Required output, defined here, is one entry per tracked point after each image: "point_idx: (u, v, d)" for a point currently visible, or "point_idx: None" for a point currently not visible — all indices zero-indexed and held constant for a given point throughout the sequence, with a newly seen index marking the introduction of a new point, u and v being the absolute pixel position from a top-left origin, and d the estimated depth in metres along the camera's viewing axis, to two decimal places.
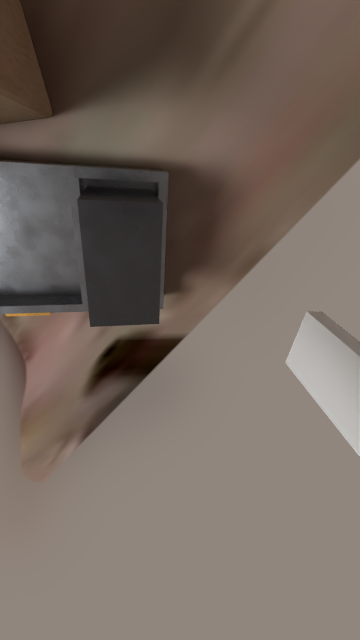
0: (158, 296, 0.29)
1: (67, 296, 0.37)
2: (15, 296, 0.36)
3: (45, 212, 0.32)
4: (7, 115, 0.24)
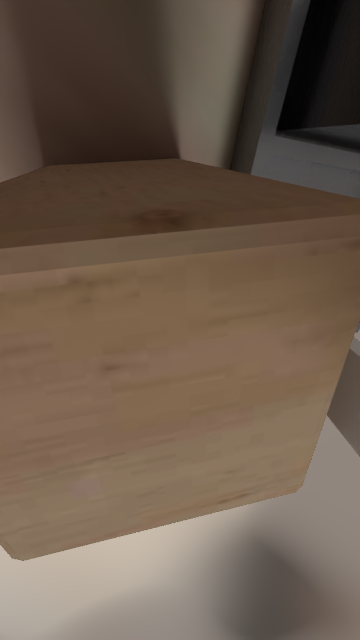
0: None
1: None
2: None
3: None
4: None
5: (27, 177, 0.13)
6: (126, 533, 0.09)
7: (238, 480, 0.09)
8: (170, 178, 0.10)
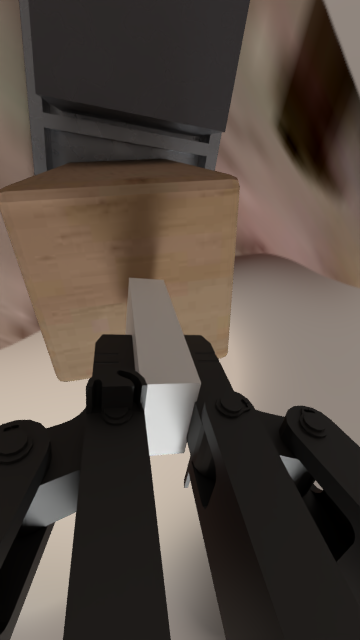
0: None
1: None
2: None
3: None
4: None
5: (62, 168, 0.20)
6: None
7: None
8: (151, 168, 0.17)
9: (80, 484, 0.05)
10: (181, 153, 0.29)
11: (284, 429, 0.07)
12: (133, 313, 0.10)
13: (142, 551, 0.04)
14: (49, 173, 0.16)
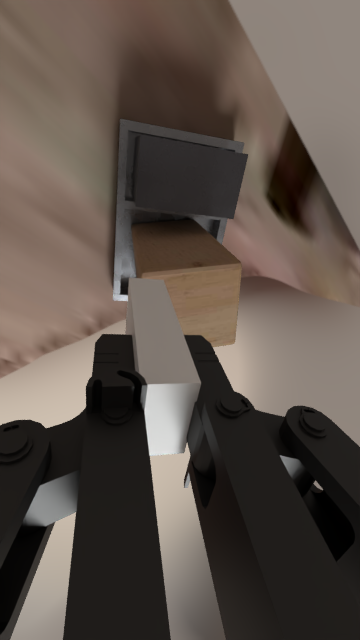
0: (221, 151, 0.31)
1: (213, 230, 0.45)
2: None
3: None
4: None
5: (142, 239, 0.35)
6: None
7: (214, 333, 0.31)
8: (195, 245, 0.33)
9: (80, 484, 0.05)
10: None
11: (284, 429, 0.07)
12: (133, 313, 0.10)
13: (142, 551, 0.04)
14: (145, 250, 0.32)
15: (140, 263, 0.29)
